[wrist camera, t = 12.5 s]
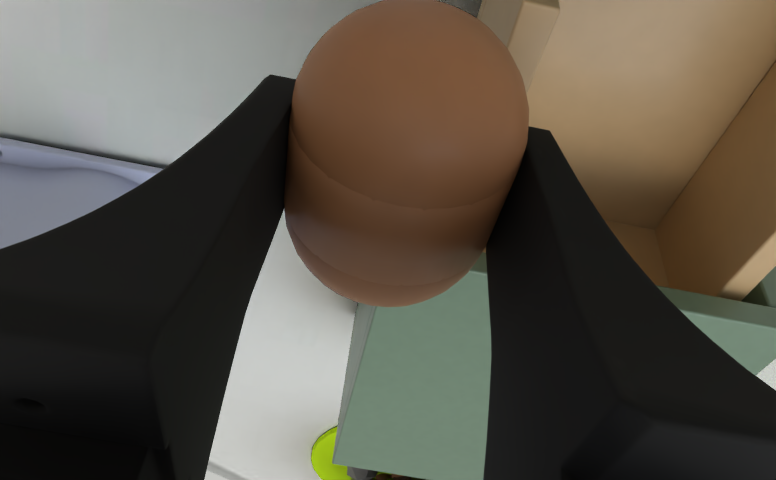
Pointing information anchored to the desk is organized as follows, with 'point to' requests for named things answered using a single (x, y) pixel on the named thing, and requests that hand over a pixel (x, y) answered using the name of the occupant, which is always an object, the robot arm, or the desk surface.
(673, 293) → the cabinet
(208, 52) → the desk surface
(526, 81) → the drawer
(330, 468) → the toy cauldron
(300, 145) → the egg
